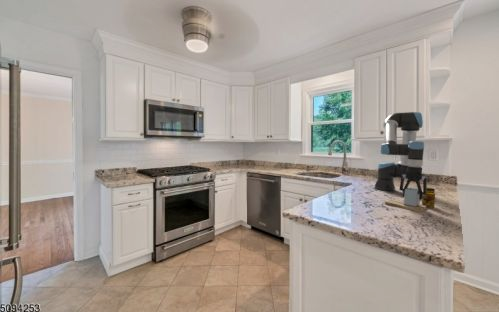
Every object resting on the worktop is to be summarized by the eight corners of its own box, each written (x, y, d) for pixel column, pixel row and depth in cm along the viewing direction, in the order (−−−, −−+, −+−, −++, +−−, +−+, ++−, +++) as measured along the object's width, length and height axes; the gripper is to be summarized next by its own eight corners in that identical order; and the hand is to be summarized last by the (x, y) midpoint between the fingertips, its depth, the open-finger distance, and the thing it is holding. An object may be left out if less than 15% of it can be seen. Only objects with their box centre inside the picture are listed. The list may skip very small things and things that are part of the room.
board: (391, 201, 150) (391, 199, 150) (426, 208, 136) (426, 205, 136) (384, 204, 143) (385, 201, 143) (421, 212, 128) (421, 209, 128)
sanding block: (407, 202, 142) (409, 186, 141) (419, 205, 137) (420, 188, 136) (403, 204, 136) (405, 188, 136) (415, 207, 132) (416, 190, 131)
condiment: (423, 207, 137) (425, 188, 136) (417, 204, 145) (419, 186, 144) (437, 209, 135) (439, 189, 134) (431, 205, 143) (432, 187, 142)
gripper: (394, 165, 140) (392, 200, 141) (432, 168, 125) (429, 208, 127) (398, 164, 145) (396, 198, 146) (435, 167, 130) (432, 205, 132)
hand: (411, 203), depth 137 cm, fingers closed on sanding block, 6 cm apart
